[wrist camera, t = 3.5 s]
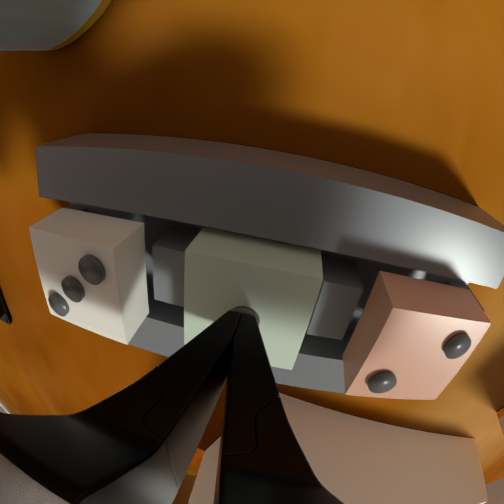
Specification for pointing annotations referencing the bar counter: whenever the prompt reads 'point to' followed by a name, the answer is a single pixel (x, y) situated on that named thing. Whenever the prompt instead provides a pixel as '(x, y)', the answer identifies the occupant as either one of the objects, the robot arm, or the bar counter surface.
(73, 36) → the bottle
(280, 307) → the key sage
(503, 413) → the supplement box
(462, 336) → the key terracotta
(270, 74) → the bar counter surface
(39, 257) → the key cream
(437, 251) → the keypad
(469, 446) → the tissue box
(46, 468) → the robot arm
